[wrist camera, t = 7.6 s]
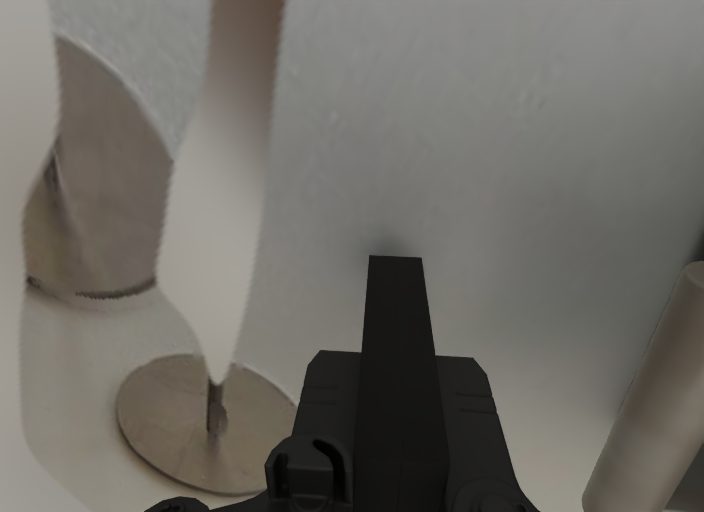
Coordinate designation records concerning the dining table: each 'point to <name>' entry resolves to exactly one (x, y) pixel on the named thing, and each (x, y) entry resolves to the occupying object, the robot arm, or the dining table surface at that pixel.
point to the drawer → (660, 417)
